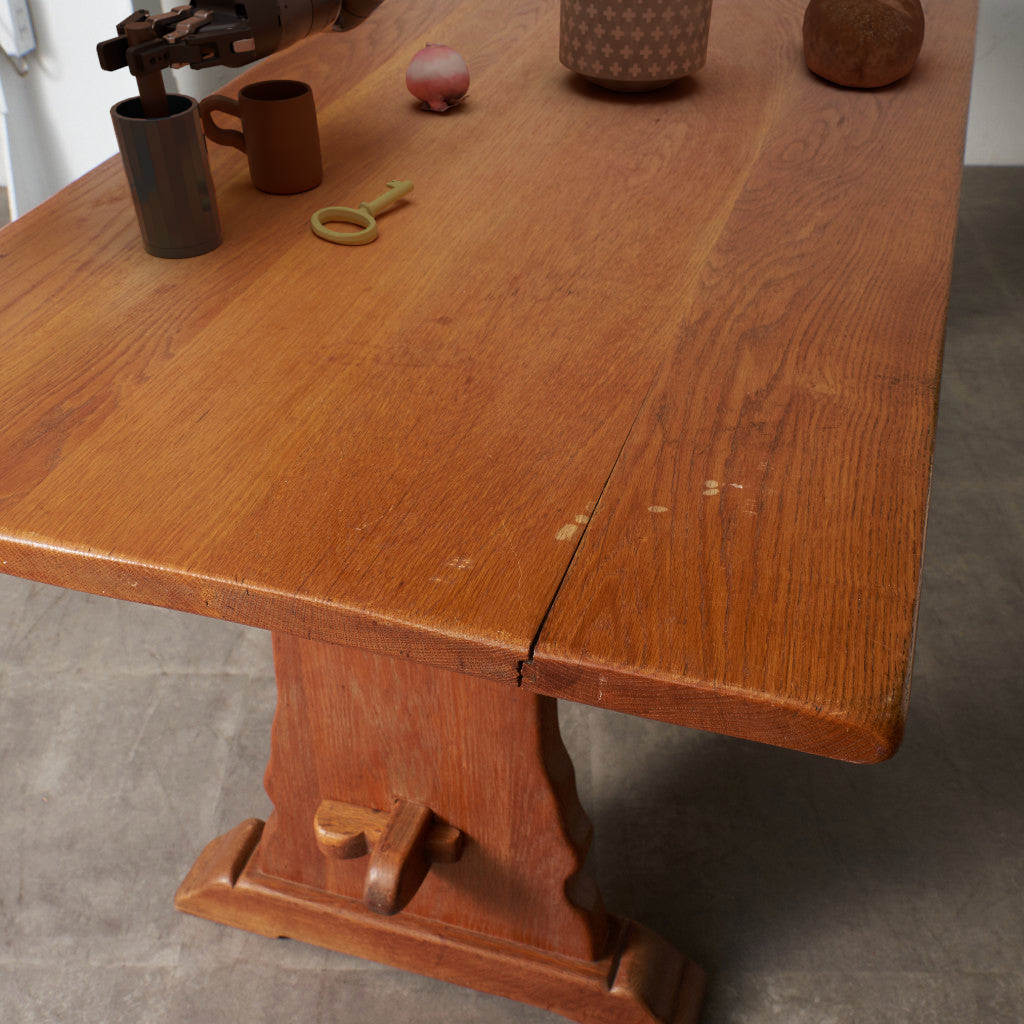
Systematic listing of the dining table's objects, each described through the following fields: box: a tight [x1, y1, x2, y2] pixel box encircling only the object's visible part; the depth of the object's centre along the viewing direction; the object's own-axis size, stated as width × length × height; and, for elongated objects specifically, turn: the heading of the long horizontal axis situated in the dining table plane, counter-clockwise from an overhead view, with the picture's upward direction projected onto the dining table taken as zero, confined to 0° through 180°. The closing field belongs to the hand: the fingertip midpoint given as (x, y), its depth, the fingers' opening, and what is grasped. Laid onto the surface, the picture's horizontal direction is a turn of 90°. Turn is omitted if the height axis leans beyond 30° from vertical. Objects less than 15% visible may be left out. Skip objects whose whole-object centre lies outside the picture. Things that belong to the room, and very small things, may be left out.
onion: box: [405, 42, 471, 112], centre depth 124 cm, size 8×8×7 cm
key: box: [310, 179, 415, 246], centre depth 99 cm, size 7×12×2 cm, turn 161°
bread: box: [801, 0, 926, 89], centre depth 137 cm, size 16×29×11 cm, turn 167°
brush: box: [124, 22, 171, 119], centre depth 89 cm, size 5×5×18 cm
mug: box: [198, 79, 324, 195], centre depth 104 cm, size 12×8×9 cm, turn 97°
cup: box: [109, 92, 225, 259], centre depth 92 cm, size 7×7×12 cm
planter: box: [558, 0, 714, 93], centre depth 127 cm, size 19×19×18 cm
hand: (117, 61), depth 83 cm, fingers closed
